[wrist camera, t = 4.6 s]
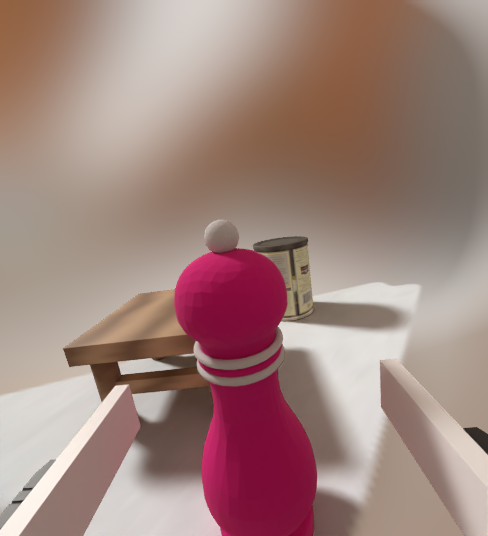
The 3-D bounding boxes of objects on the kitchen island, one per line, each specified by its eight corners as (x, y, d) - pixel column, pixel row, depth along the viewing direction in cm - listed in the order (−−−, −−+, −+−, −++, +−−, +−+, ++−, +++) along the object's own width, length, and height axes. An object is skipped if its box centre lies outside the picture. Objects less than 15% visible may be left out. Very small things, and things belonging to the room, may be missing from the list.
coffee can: (268, 300, 56) (260, 239, 53) (315, 300, 52) (309, 234, 49) (255, 321, 47) (245, 248, 43) (312, 322, 43) (305, 242, 40)
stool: (91, 433, 26) (63, 348, 24) (152, 349, 41) (138, 293, 39) (242, 420, 25) (227, 329, 23) (246, 339, 40) (237, 281, 38)
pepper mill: (341, 584, 13) (311, 207, 9) (208, 605, 13) (113, 236, 9) (304, 456, 20) (277, 210, 16) (217, 469, 20) (166, 226, 16)
